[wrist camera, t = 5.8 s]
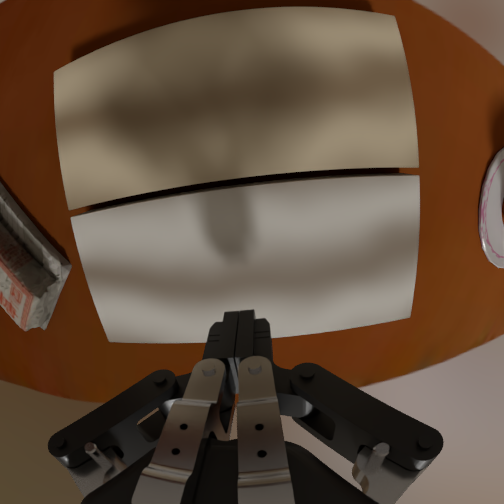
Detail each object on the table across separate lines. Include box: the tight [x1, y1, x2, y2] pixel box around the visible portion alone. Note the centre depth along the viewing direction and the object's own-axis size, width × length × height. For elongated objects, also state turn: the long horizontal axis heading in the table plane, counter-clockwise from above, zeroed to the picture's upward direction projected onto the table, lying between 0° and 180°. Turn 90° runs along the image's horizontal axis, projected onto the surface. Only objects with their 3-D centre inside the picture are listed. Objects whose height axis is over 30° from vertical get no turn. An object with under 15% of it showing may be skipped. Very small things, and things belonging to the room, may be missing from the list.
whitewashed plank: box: [71, 173, 420, 343], centre depth 17 cm, size 10×22×2 cm, turn 97°
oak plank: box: [54, 7, 419, 210], centre depth 14 cm, size 10×22×3 cm, turn 97°
